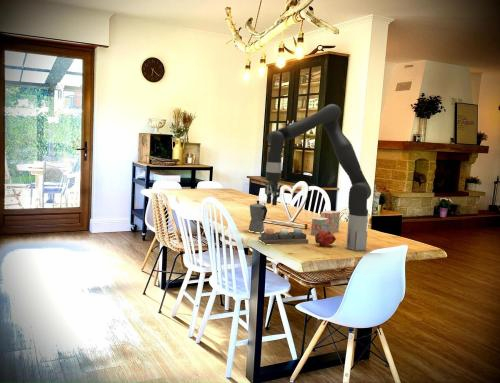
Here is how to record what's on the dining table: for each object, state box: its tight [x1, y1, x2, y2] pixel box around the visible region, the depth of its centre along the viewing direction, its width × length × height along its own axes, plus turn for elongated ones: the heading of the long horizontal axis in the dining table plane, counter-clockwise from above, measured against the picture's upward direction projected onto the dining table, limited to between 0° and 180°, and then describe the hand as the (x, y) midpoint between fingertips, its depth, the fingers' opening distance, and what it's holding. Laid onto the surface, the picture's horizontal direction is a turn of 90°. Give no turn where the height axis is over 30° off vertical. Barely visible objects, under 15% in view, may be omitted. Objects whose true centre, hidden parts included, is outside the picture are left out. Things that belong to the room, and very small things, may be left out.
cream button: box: [279, 228, 289, 235], centre depth 239 cm, size 4×4×3 cm
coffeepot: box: [248, 199, 268, 232], centre depth 260 cm, size 15×9×18 cm, turn 33°
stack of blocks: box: [310, 210, 341, 236], centre depth 270 cm, size 21×6×12 cm, turn 141°
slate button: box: [292, 227, 303, 234], centre depth 242 cm, size 4×4×3 cm
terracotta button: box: [264, 228, 275, 235], centre depth 236 cm, size 4×4×3 cm
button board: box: [258, 231, 309, 245], centre depth 239 cm, size 10×24×4 cm, turn 111°
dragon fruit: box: [314, 231, 337, 247], centre depth 236 cm, size 8×8×12 cm
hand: (271, 204), depth 234 cm, fingers open, 6 cm apart
